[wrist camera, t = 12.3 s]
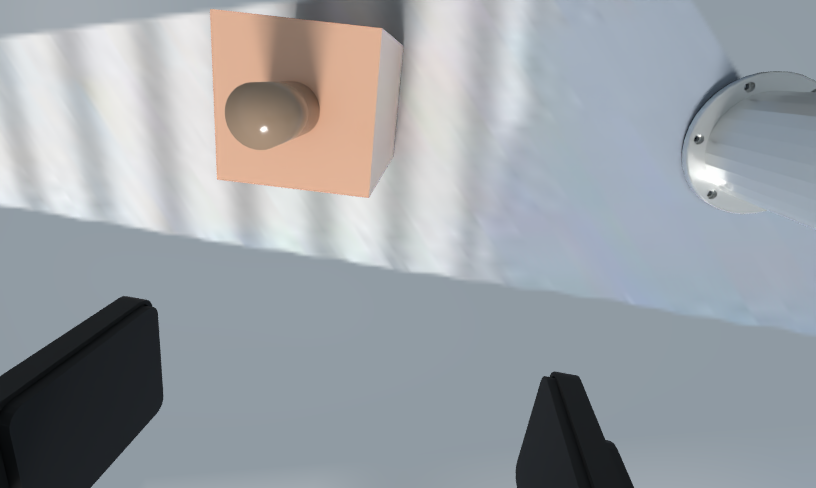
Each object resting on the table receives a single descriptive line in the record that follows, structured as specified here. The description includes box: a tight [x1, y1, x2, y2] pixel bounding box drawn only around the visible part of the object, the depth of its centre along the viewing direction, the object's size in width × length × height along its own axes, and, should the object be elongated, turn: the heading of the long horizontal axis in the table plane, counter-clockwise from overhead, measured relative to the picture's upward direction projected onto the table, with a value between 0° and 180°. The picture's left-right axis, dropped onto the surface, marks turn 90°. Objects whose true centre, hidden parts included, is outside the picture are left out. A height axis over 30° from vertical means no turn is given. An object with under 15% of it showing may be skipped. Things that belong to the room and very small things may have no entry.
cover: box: [210, 9, 404, 198], centre depth 33 cm, size 10×10×22 cm
